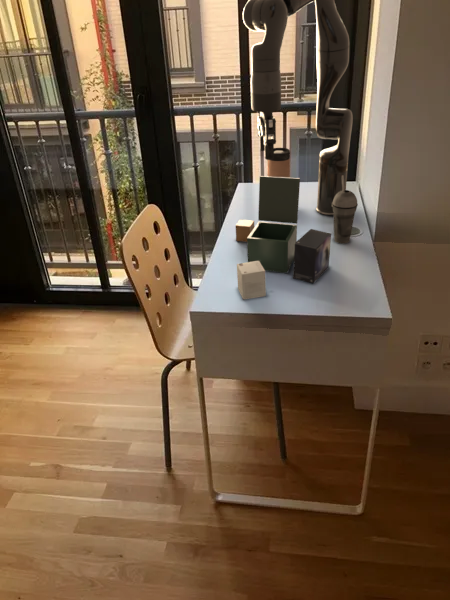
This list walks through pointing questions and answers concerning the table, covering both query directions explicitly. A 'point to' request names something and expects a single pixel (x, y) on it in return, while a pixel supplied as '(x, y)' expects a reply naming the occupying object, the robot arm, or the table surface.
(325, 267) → the small box
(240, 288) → the white cardboard box
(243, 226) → the carton
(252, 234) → the bin
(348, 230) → the beverage cup
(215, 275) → the table surface
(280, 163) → the travel mug
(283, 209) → the bin lid
